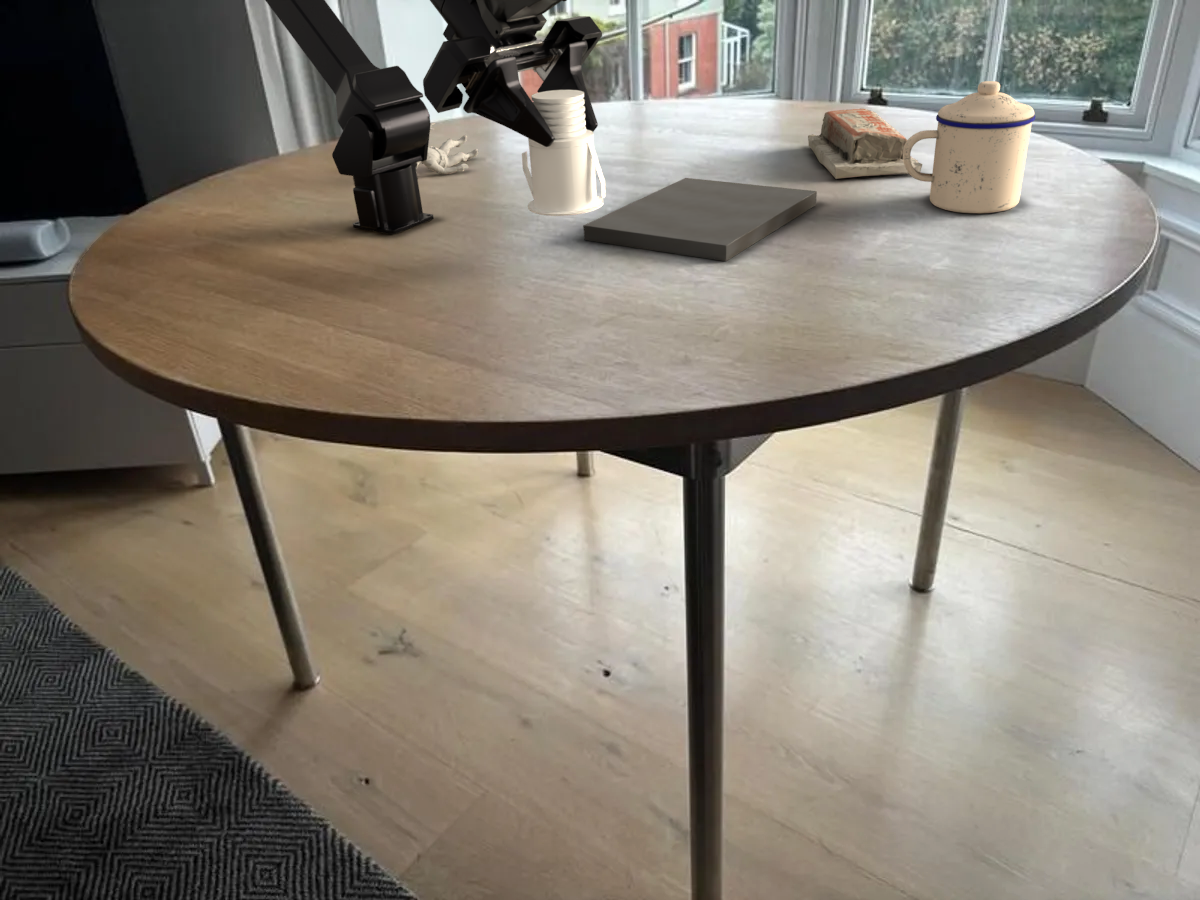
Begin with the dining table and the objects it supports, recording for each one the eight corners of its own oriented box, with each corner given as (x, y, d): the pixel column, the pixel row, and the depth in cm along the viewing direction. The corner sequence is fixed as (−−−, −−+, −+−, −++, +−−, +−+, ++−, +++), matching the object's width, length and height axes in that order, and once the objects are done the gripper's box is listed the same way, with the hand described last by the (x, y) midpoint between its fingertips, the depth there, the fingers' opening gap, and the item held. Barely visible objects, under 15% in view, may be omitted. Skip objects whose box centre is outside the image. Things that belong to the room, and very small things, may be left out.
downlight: (509, 215, 85) (497, 100, 80) (546, 195, 90) (537, 86, 85) (587, 222, 82) (580, 103, 77) (620, 201, 87) (616, 88, 82)
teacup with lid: (1009, 189, 99) (1027, 72, 93) (1031, 214, 91) (1052, 88, 85) (892, 192, 101) (903, 78, 95) (904, 217, 93) (916, 94, 87)
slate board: (685, 190, 107) (685, 177, 106) (816, 205, 98) (817, 190, 98) (584, 240, 93) (582, 225, 92) (726, 261, 85) (726, 245, 84)
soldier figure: (493, 168, 127) (450, 159, 116) (469, 192, 129) (426, 186, 118) (458, 124, 128) (413, 112, 117) (435, 150, 130) (388, 140, 119)
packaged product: (807, 108, 119) (885, 103, 119) (805, 147, 122) (882, 142, 121) (836, 137, 104) (926, 132, 103) (834, 181, 106) (922, 176, 106)
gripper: (425, -74, 70) (548, 89, 70) (579, -84, 83) (684, 54, 82) (375, 37, 78) (485, 183, 78) (522, 12, 91) (617, 138, 90)
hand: (573, 136), depth 82 cm, fingers closed on downlight, 6 cm apart
